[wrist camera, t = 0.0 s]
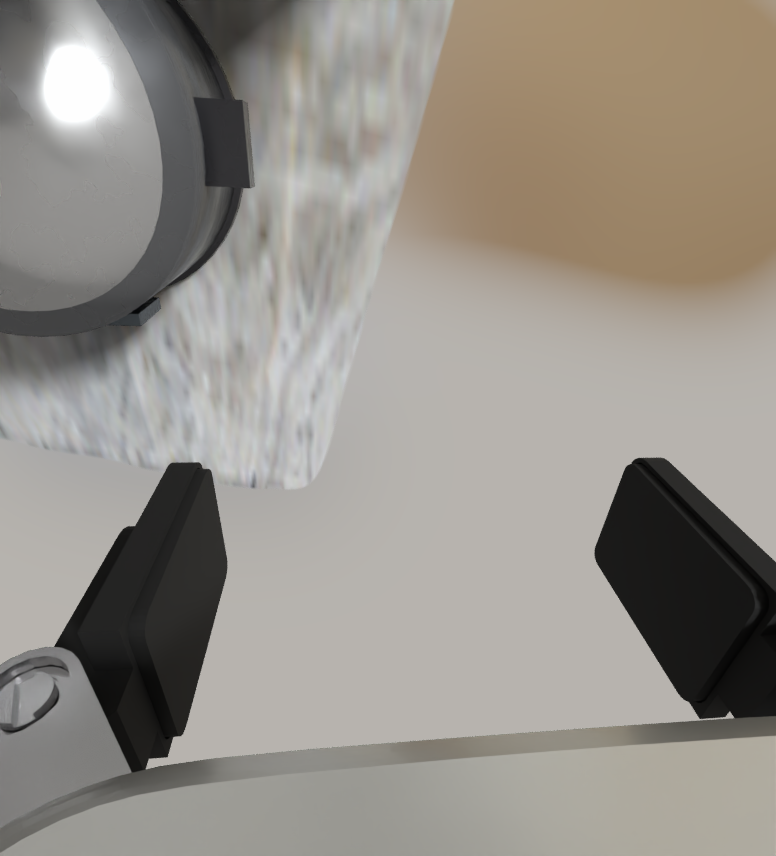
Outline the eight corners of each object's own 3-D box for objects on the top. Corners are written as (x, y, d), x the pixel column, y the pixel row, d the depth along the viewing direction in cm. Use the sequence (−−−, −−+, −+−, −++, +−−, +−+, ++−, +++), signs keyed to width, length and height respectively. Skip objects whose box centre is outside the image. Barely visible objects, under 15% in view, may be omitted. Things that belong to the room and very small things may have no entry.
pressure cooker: (-213, -128, 25) (-608, -329, 14) (254, -79, 27) (202, -220, 17) (-41, 288, 36) (-194, 343, 26) (280, 296, 38) (258, 350, 28)
